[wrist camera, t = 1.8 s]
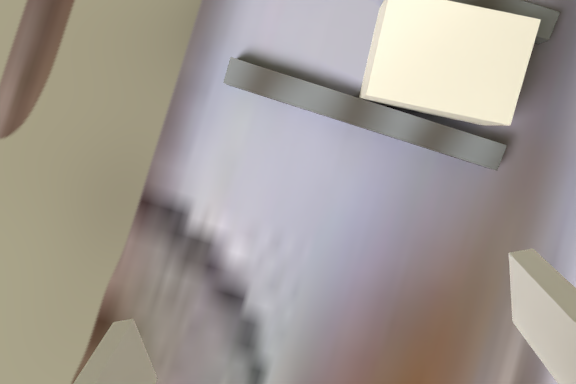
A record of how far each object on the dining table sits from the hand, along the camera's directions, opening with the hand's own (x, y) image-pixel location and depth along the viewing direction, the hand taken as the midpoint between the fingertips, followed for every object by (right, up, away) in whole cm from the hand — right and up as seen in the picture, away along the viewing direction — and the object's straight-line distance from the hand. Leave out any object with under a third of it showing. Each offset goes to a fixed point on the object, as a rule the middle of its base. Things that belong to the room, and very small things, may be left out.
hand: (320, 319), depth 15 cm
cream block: (+10, +14, +19) cm, 26 cm away
